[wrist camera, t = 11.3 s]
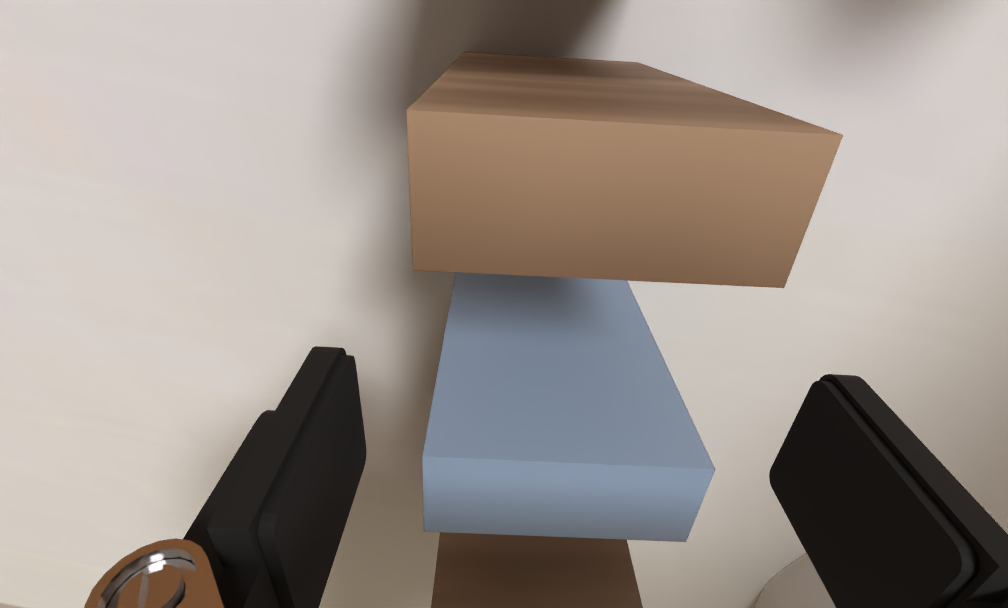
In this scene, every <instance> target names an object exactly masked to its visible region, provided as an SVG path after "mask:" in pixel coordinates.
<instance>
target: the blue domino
mask: <svg viewBox="0 0 1008 608" xmlns="http://www.w3.org/2000/svg"><path fill="white" fill-rule="evenodd" d="M422 464H423V507H424V531H426V532H451V533H476V534H501V535H526V536H551V537H576V538H602V539H627V540H652V541H677V542H686V540H687V538H688V535H689V533H690V531H691V528H692V526H693V523H694V521H695V518H696V516H697V513H698V511H699V508H700V506H701V503H702V501H703V498H704V496H705V494H706V491H707V489H708V486H709V484H710V481H711V479H712V476H713V474H714V471H715V468H714V466H713V464H712V461H711V459H710V457H709V455H708V453H707V451H706V449H705V446H704V444H703V442H702V440H701V438H700V436H699V434H698V431H697V429H696V427H695V425H694V423H693V421H692V419H691V417H690V414H689V412H688V410H687V408H686V406H685V404H684V402H683V399H682V397H681V395H680V393H679V391H678V389H677V387H676V384H675V382H674V380H673V378H672V376H671V374H670V372H669V369H668V367H667V365H666V363H665V361H664V359H663V357H662V355H661V352H660V350H659V348H658V346H657V344H656V342H655V340H654V337H653V335H652V333H651V331H650V329H649V327H648V325H647V322H646V320H645V318H644V316H643V314H642V312H641V310H640V307H639V305H638V303H637V301H636V299H635V297H634V295H633V293H632V290H631V288H630V286H629V284H628V282H627V280H608V279H587V278H566V277H545V276H525V275H504V274H483V273H462V272H456V274H455V279H454V285H453V290H452V296H451V301H450V307H449V312H448V318H447V323H446V329H445V334H444V340H443V345H442V351H441V356H440V362H439V367H438V373H437V378H436V384H435V389H434V395H433V400H432V406H431V411H430V417H429V422H428V428H427V433H426V439H425V444H424V450H423V455H422Z"/></svg>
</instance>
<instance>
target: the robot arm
mask: <svg viewBox="0 0 1008 608" xmlns="http://www.w3.org/2000/svg"><path fill="white" fill-rule="evenodd" d="M365 461H366V442H365V435H364V427H363V419H362V411H361V403H360V395H359V387H358V379H357V371H356V364H355V358H354V356H350V355H346V352H345V350H344V349H343V348H335V347H317V346H315V347H313V348H312V350H311V351H310V353H309V354H308V356H307V358H306V359H305V361H304V363H303V364H302V366H301V368H300V370H299V371H298V373H297V375H296V376H295V378H294V380H293V381H292V383H291V385H290V387H289V388H288V390H287V392H286V393H285V395H284V397H283V398H282V400H281V402H280V404H279V405H278V407H277V409H276V410H275V411H271V410H267V411H265V412H263V413H262V414H261V415H260V416H259V418H258V419H257V420H256V422H255V424H254V425H253V427H252V429H251V430H250V432H249V433H248V435H247V437H246V438H245V440H244V441H243V443H242V445H241V446H240V448H239V449H238V451H237V453H236V454H235V456H234V458H233V459H232V461H231V462H230V464H229V466H228V467H227V469H226V470H225V472H224V474H223V475H222V477H221V479H220V480H219V482H218V483H217V485H216V487H215V488H214V490H213V491H212V493H211V495H210V496H209V498H208V500H207V501H206V503H205V504H204V506H203V508H202V509H201V511H200V512H199V514H198V516H197V517H196V519H195V521H194V522H193V524H192V525H191V527H190V529H189V530H188V532H187V533H186V535H185V537H184V538H183V539H176V538H175V539H168V540H162V541H157V542H154V543H152V544H149V545H146V546H144V547H141V548H139V549H137V550H136V551H134V552H132V553H131V554H129V555H127V556H125V557H124V558H122V559H121V560H120V561H119V562H117V563H116V564H115V565H114V566H113V567H112V568H110V569H109V570H108V571H107V572H106V573H105V574H104V575H103V577H102V578H101V579H100V580H99V581H98V583H97V584H96V585H95V586H94V588H93V589H92V591H91V593H90V595H89V597H88V599H87V602H86V604H85V606H84V608H319V605H320V602H321V598H322V595H323V592H324V589H325V586H326V583H327V580H328V577H329V574H330V571H331V568H332V565H333V561H334V558H335V555H336V552H337V549H338V546H339V543H340V540H341V537H342V534H343V531H344V528H345V524H346V521H347V518H348V515H349V512H350V509H351V506H352V503H353V500H354V497H355V494H356V491H357V487H358V484H359V481H360V478H361V475H362V472H363V469H364V465H365ZM769 477H770V484H771V487H772V489H773V491H774V493H775V494H776V496H777V498H778V500H779V502H780V504H781V506H782V508H783V509H784V511H785V513H786V515H787V517H788V519H789V521H790V523H791V524H792V526H793V528H794V530H795V532H796V534H797V536H798V538H799V539H800V541H801V543H802V545H803V547H804V549H805V551H806V552H807V554H808V556H809V558H810V560H811V562H812V564H813V566H814V567H815V569H816V571H817V573H818V575H819V577H820V579H821V581H822V582H823V584H824V586H825V588H826V590H827V592H828V594H829V596H830V597H831V599H832V601H833V603H834V605H835V607H836V608H1008V534H1007V533H1006V532H1005V531H1004V530H1003V529H1002V528H1001V527H1000V526H999V525H998V523H997V522H996V521H995V520H994V519H993V518H992V517H991V516H990V515H989V514H988V513H987V512H986V511H985V510H984V508H983V507H982V506H981V505H980V504H979V503H978V502H977V501H976V500H975V499H974V498H973V497H972V496H971V495H970V493H969V492H968V491H967V490H966V489H965V488H964V487H963V486H962V485H961V484H960V483H959V482H958V481H957V480H956V478H955V477H954V476H953V475H952V474H951V473H950V472H949V471H948V470H947V469H946V468H945V467H944V466H943V465H942V463H941V462H940V461H939V460H938V459H937V458H936V457H935V456H934V455H933V454H932V453H931V452H930V451H929V450H928V448H927V447H926V446H925V445H924V444H923V443H922V442H921V441H920V440H919V439H918V438H917V437H916V436H915V434H914V433H913V432H912V431H911V430H910V429H909V428H908V427H907V426H906V425H905V424H904V423H903V422H902V421H901V419H900V418H899V417H898V416H897V415H896V414H895V413H894V412H893V411H892V410H891V409H890V408H889V407H888V406H887V404H886V403H885V402H884V401H883V400H882V399H881V398H880V397H879V396H878V395H877V394H876V393H875V392H874V391H873V389H872V388H871V387H870V386H869V385H868V384H867V383H866V382H865V381H864V380H863V379H862V378H860V377H858V376H851V375H833V374H828V375H824V376H823V377H821V379H820V380H819V381H816V382H814V383H813V384H812V386H811V387H810V389H809V391H808V394H807V396H806V398H805V400H804V402H803V404H802V406H801V408H800V410H799V412H798V414H797V416H796V418H795V420H794V422H793V424H792V426H791V428H790V430H789V432H788V434H787V437H786V439H785V441H784V443H783V445H782V447H781V449H780V451H779V453H778V455H777V457H776V459H775V461H774V463H773V465H772V467H771V470H770V475H769Z"/></svg>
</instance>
